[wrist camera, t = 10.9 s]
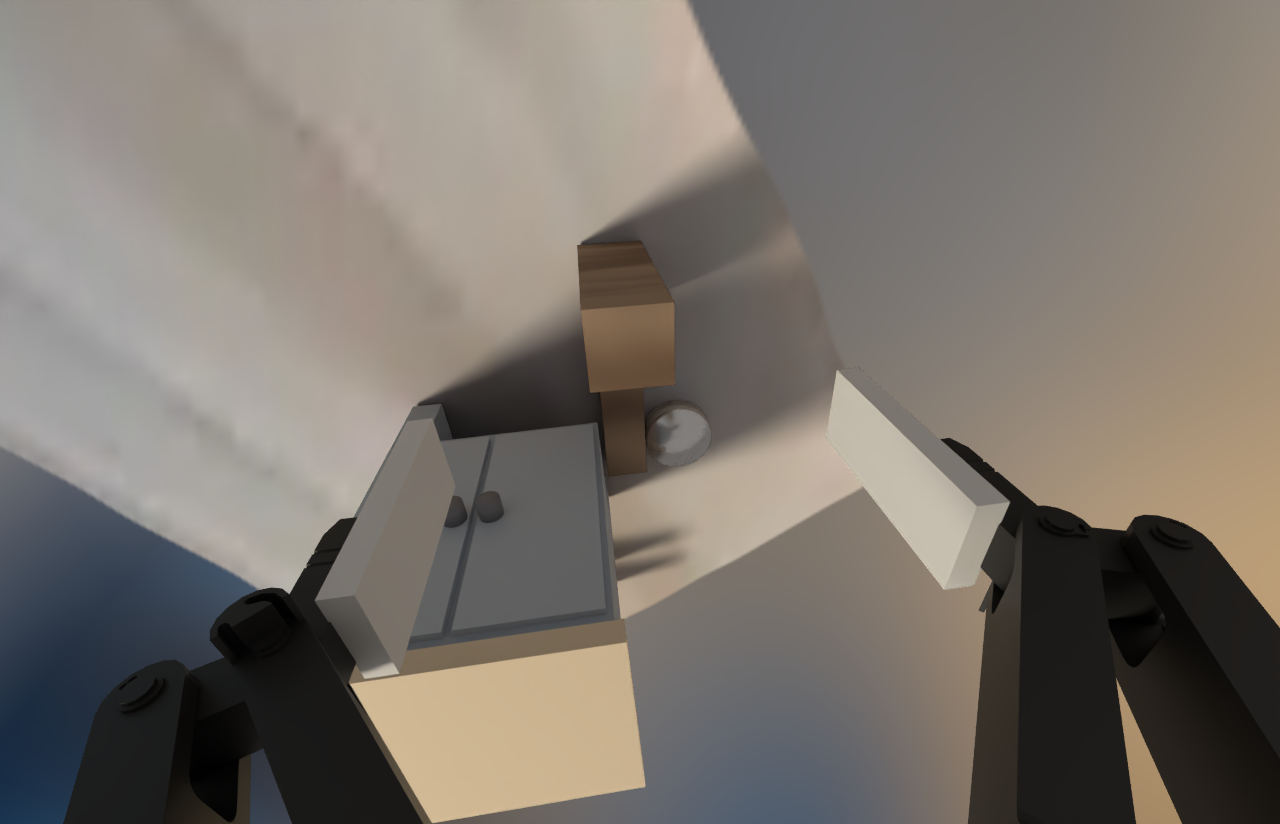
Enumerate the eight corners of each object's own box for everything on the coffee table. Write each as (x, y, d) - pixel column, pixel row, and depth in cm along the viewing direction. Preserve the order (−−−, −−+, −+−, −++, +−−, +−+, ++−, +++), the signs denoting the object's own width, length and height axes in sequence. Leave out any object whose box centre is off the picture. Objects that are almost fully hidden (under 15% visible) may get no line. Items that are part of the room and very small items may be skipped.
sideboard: (401, 390, 35) (221, 685, 17) (597, 368, 36) (624, 625, 18) (449, 523, 41) (358, 835, 24) (613, 502, 42) (645, 786, 24)
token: (644, 402, 38) (647, 414, 36) (708, 398, 38) (714, 410, 37) (643, 454, 40) (646, 468, 39) (703, 451, 41) (708, 464, 39)
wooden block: (577, 245, 31) (580, 310, 21) (640, 240, 31) (674, 302, 21) (600, 461, 40) (611, 581, 30) (649, 456, 40) (676, 572, 30)
